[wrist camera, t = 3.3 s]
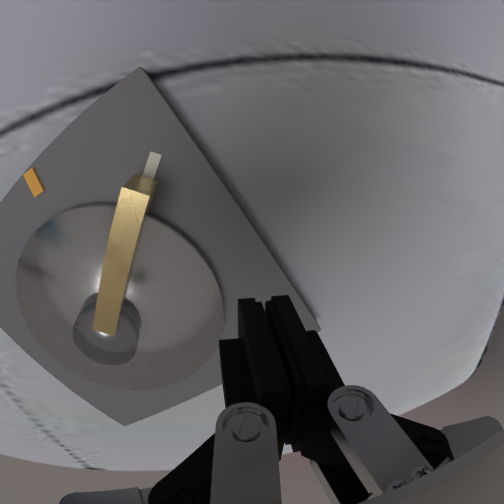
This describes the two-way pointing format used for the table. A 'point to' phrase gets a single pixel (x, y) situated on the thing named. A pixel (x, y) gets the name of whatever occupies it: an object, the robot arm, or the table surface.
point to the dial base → (163, 206)
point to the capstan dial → (120, 293)
